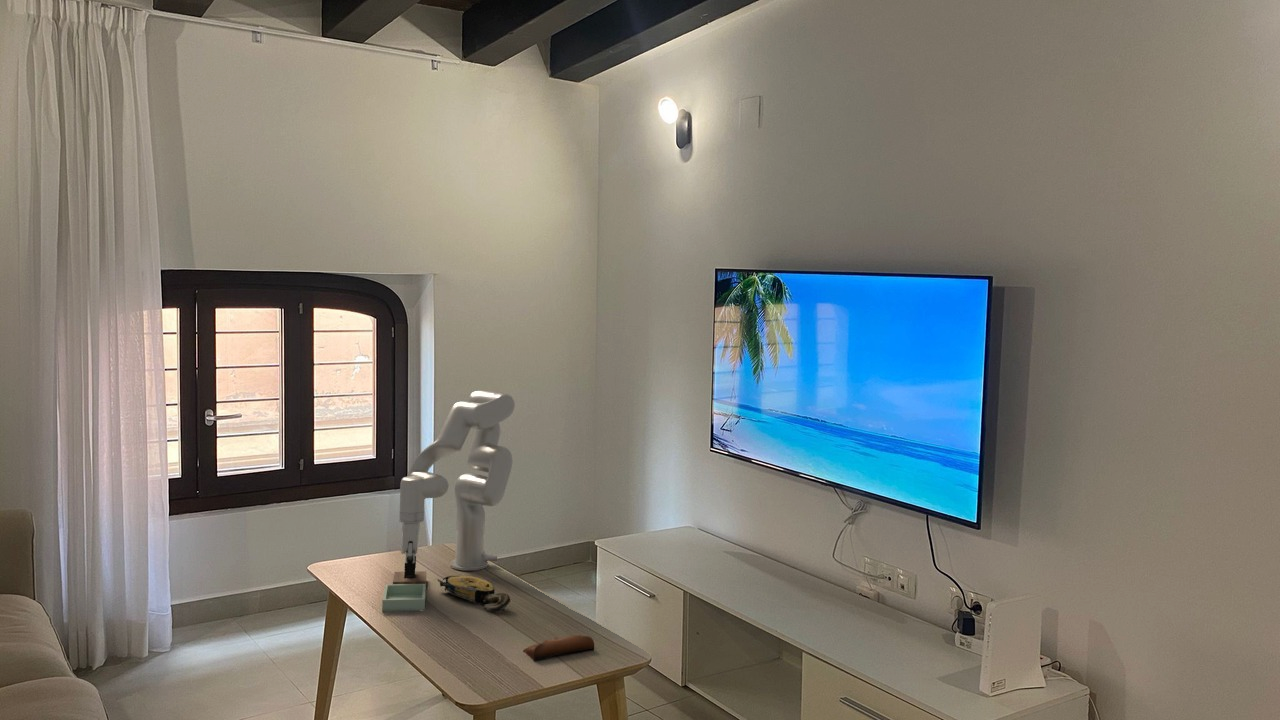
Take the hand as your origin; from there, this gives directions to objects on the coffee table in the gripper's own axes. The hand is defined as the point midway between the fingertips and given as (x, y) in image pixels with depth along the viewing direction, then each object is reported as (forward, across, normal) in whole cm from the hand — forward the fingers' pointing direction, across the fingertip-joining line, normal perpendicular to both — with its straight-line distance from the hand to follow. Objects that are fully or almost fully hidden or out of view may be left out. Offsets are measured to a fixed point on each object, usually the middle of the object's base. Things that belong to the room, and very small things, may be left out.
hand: (410, 571), depth 300 cm
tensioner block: (+5, 0, 0) cm, 5 cm away
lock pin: (+5, 0, 0) cm, 5 cm away
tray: (+5, +16, -1) cm, 17 cm away
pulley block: (+5, +14, +21) cm, 26 cm away
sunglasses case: (+5, +56, +41) cm, 69 cm away
